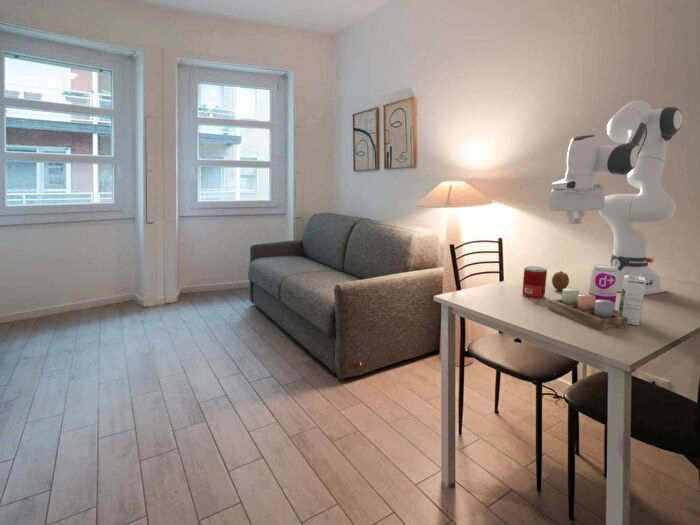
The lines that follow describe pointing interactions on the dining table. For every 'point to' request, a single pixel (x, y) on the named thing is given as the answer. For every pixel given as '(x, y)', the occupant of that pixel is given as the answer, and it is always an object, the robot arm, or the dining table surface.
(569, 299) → the sage button
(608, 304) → the grey button
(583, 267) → the dining table surface
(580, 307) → the pink rounded cylinder
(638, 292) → the syrup box
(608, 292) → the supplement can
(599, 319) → the wooden tray
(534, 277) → the canned food
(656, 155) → the robot arm
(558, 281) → the fruit
